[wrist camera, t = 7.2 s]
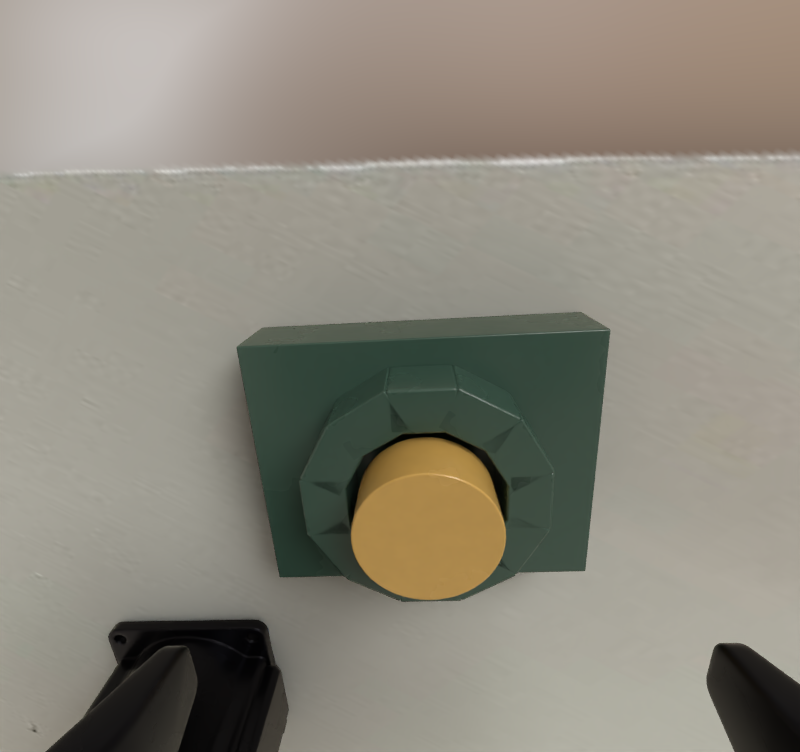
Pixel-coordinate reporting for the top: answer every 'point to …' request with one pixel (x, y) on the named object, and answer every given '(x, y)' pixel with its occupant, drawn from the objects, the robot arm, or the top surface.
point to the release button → (427, 520)
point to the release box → (428, 427)
